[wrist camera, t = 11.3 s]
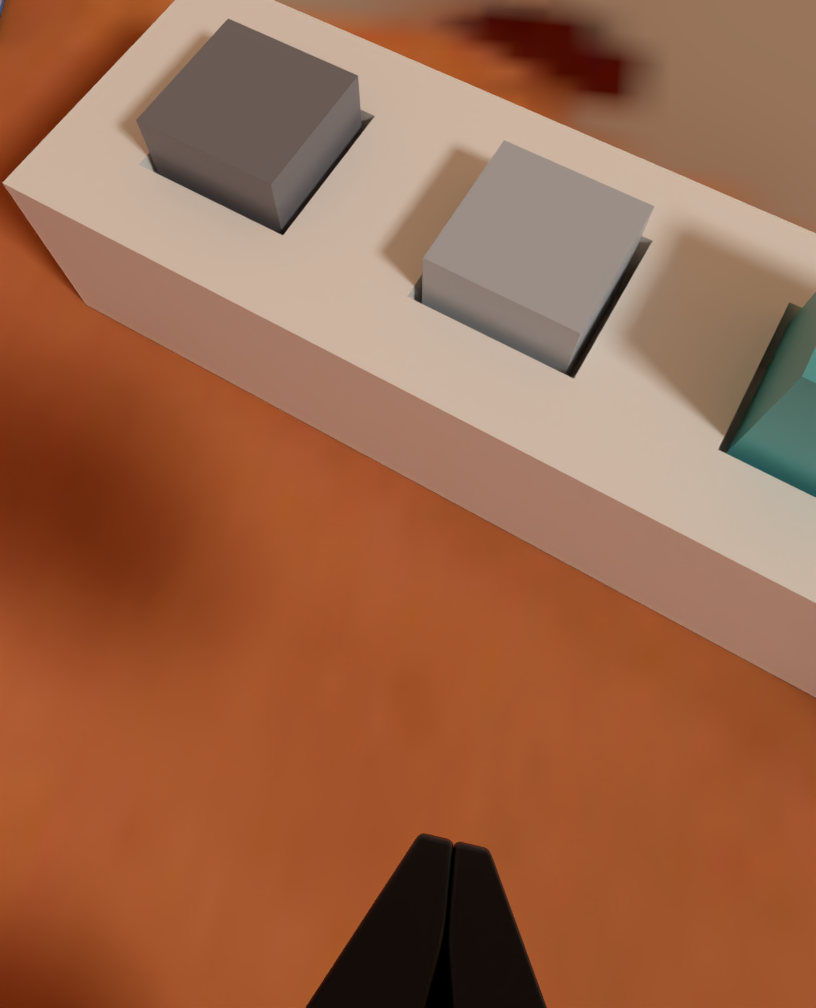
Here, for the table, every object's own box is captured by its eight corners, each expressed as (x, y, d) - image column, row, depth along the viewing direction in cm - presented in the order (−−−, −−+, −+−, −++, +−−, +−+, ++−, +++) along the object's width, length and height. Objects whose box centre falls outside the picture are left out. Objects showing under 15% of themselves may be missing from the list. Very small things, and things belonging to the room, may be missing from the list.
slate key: (551, 408, 22) (580, 333, 18) (420, 343, 23) (423, 258, 19) (615, 297, 23) (654, 206, 20) (489, 238, 24) (504, 140, 20)
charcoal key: (292, 278, 24) (270, 184, 20) (178, 220, 24) (135, 120, 21) (366, 181, 25) (358, 75, 21) (254, 129, 26) (227, 18, 22)
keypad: (860, 721, 23) (1010, 703, 17) (85, 304, 28) (1, 182, 22) (958, 453, 25) (1114, 362, 20) (241, 119, 30) (203, -30, 25)
